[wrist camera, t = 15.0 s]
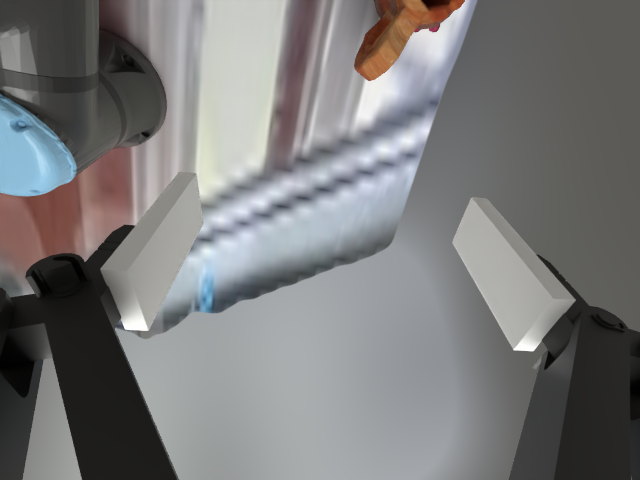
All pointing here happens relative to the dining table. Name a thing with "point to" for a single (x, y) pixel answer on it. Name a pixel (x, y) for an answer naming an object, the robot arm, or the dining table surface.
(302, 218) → the dining table surface
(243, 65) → the dining table surface
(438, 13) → the mug
